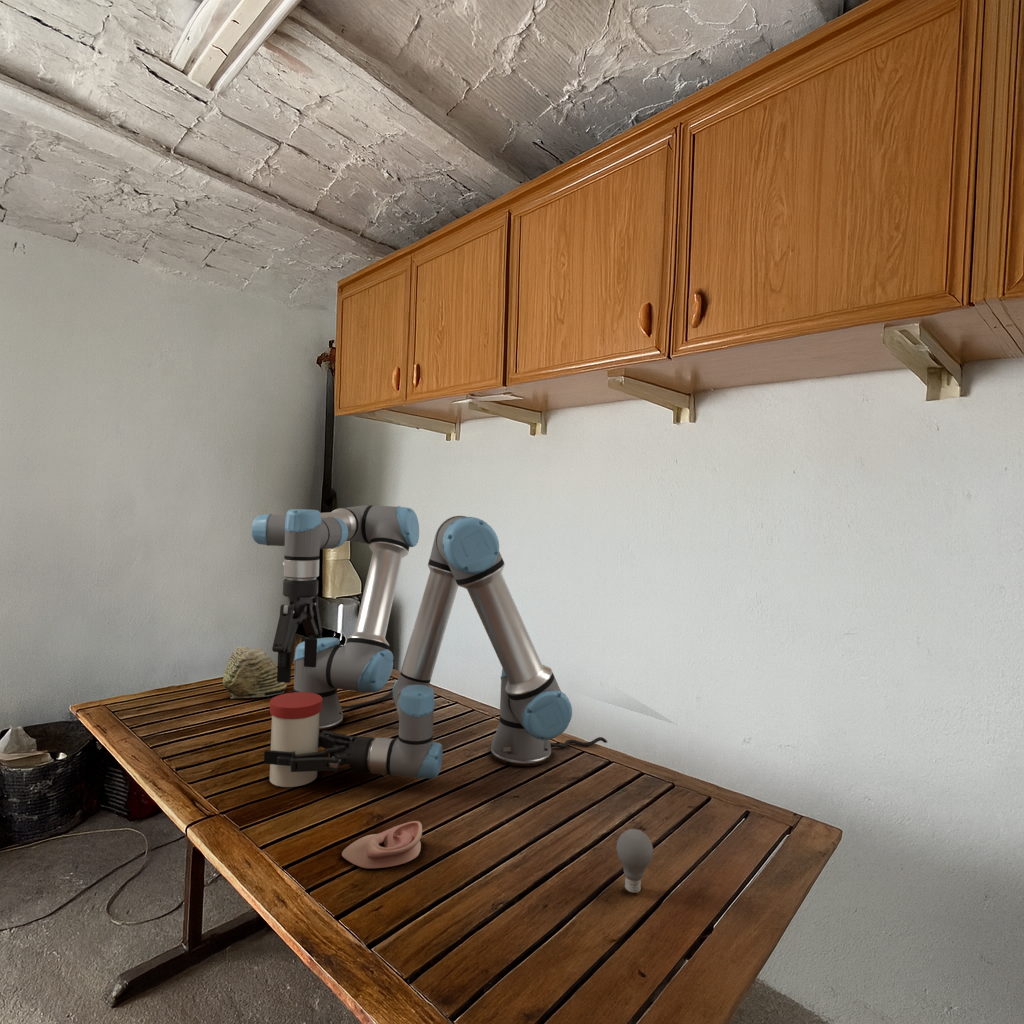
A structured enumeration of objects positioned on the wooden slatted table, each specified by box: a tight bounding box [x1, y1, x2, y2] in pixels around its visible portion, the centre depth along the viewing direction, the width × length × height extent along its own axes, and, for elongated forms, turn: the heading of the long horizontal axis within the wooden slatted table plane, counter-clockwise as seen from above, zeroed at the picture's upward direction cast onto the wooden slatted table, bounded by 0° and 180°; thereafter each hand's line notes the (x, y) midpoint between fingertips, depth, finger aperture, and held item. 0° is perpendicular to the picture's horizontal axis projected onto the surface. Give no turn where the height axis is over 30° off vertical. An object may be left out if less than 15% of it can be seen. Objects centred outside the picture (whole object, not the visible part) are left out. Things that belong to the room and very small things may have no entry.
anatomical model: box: [341, 820, 423, 870], centre depth 114 cm, size 13×4×12 cm
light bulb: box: [615, 828, 654, 894], centre depth 106 cm, size 6×6×10 cm
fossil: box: [222, 646, 288, 699], centre depth 198 cm, size 9×18×15 cm, turn 132°
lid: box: [269, 691, 322, 719], centre depth 142 cm, size 11×11×2 cm
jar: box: [268, 712, 320, 788], centre depth 142 cm, size 10×10×17 cm
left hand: (297, 674), depth 142 cm, fingers open, 12 cm apart
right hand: (276, 747), depth 143 cm, fingers closed on jar, 10 cm apart
